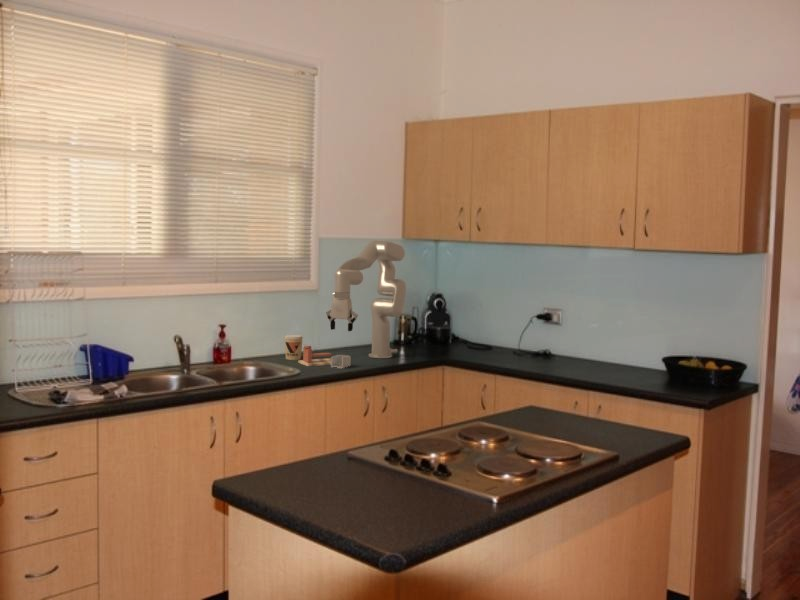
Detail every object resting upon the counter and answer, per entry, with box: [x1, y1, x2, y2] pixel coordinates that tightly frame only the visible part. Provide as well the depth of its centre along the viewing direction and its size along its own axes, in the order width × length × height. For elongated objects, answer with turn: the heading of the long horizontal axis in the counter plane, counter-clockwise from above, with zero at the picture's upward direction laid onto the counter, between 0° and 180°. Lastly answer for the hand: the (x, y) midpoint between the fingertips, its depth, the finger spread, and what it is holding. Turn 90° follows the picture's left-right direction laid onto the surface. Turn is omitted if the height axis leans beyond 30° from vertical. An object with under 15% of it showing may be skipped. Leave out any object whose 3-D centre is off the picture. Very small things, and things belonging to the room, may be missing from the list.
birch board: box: [297, 357, 331, 367], centre depth 421 cm, size 23×12×1 cm, turn 120°
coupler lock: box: [330, 354, 351, 369], centre depth 412 cm, size 8×7×5 cm
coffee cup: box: [284, 334, 304, 361], centre depth 430 cm, size 9×9×12 cm
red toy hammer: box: [302, 345, 332, 363], centre depth 419 cm, size 14×6×8 cm, turn 120°
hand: (341, 330), depth 410 cm, fingers open, 9 cm apart
